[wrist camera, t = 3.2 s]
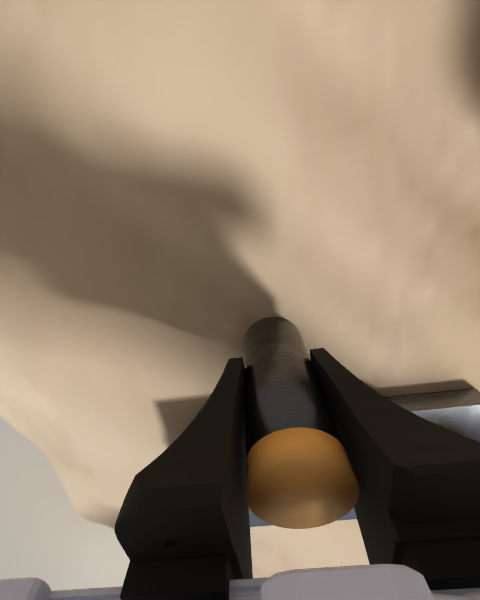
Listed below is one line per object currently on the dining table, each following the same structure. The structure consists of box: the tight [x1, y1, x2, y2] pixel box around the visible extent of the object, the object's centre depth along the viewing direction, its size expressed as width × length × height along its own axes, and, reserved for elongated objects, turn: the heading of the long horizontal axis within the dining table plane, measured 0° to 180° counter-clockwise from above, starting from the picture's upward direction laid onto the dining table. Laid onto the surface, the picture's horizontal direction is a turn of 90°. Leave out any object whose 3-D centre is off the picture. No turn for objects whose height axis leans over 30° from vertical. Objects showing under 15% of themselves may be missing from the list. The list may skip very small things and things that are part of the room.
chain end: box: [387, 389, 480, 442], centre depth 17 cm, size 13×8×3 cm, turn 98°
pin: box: [244, 317, 360, 529], centre depth 11 cm, size 3×3×8 cm
